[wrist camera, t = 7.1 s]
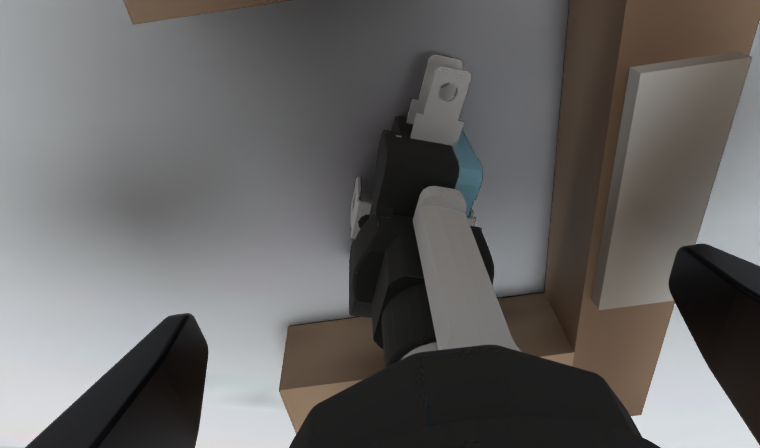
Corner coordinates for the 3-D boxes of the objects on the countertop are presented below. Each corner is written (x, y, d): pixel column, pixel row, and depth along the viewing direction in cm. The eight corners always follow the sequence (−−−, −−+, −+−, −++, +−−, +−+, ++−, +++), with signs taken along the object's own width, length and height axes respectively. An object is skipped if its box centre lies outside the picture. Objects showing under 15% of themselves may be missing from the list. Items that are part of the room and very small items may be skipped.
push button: (333, 27, 11) (274, 456, 2) (551, 72, 11) (1079, 509, 3) (299, 259, 14) (228, 753, 6) (468, 280, 15) (613, 741, 7)
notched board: (746, -328, 8) (921, -430, 5) (606, 354, 17) (647, 425, 15) (102, -220, 8) (0, -271, 6) (310, 392, 18) (304, 468, 15)
